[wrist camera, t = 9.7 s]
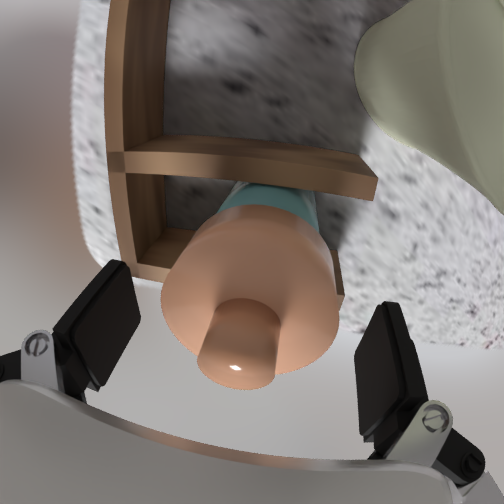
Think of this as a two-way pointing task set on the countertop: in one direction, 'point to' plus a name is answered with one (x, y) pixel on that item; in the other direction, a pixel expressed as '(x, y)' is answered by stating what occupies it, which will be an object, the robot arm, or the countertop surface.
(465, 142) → the can
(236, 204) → the jar
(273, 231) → the lid
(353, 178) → the caddy
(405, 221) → the countertop surface
